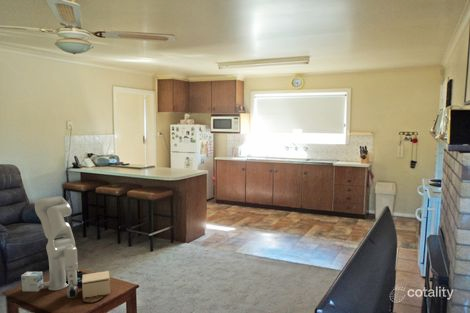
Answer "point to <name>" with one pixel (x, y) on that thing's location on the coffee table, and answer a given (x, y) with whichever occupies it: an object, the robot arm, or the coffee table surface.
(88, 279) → the carton flap
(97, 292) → the carton
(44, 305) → the coffee table surface
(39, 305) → the coffee table surface
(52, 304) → the coffee table surface
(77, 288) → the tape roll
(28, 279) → the light bulb box
